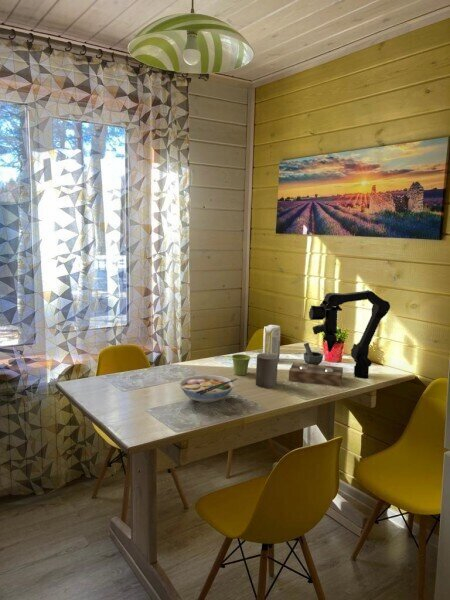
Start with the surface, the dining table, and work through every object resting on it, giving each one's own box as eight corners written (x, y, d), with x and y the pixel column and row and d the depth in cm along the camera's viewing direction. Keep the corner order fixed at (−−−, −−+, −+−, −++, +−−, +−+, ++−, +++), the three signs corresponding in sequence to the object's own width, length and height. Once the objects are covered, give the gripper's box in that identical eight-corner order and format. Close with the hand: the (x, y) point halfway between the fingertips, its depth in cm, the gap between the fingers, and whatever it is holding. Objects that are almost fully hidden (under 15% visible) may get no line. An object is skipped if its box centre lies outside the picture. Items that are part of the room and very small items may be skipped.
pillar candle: (252, 385, 229) (253, 353, 227) (260, 379, 238) (262, 349, 236) (271, 389, 225) (273, 357, 223) (280, 383, 234) (281, 352, 231)
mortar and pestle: (326, 367, 260) (327, 345, 258) (313, 371, 254) (315, 347, 252) (309, 362, 269) (310, 340, 267) (297, 365, 263) (298, 343, 261)
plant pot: (250, 371, 251) (251, 354, 250) (249, 377, 242) (250, 359, 240) (231, 370, 252) (232, 353, 250) (230, 376, 243) (230, 358, 241)
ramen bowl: (205, 386, 227) (206, 369, 225) (246, 399, 212) (247, 380, 211) (165, 401, 207) (165, 382, 206) (207, 415, 193) (207, 395, 192)
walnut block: (342, 377, 245) (342, 367, 244) (340, 386, 232) (341, 375, 231) (292, 372, 251) (293, 362, 250) (288, 380, 238) (289, 370, 237)
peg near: (333, 378, 241) (333, 368, 240) (332, 381, 237) (333, 370, 237) (324, 377, 242) (325, 367, 241) (324, 380, 238) (324, 370, 238)
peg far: (307, 376, 244) (308, 366, 243) (307, 378, 240) (307, 368, 240) (299, 375, 245) (300, 365, 244) (298, 377, 241) (299, 367, 241)
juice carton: (280, 360, 273) (282, 325, 270) (273, 363, 265) (275, 328, 262) (268, 357, 276) (269, 323, 273) (260, 361, 269) (262, 326, 266)
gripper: (314, 315, 251) (313, 345, 254) (312, 322, 233) (311, 355, 236) (337, 316, 249) (336, 347, 251) (337, 323, 231) (335, 357, 233)
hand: (329, 351), depth 243 cm, fingers closed
